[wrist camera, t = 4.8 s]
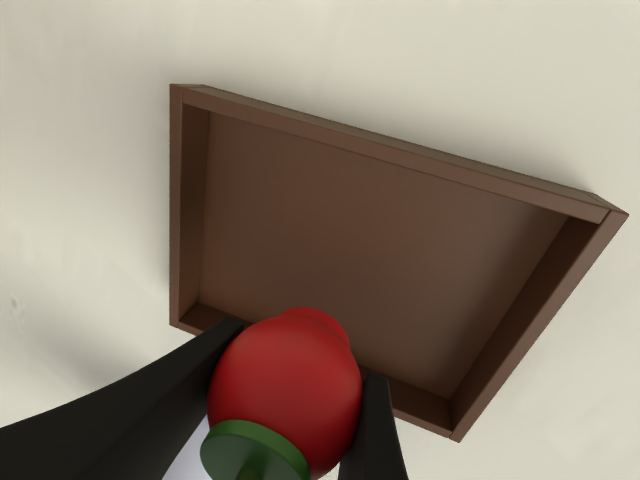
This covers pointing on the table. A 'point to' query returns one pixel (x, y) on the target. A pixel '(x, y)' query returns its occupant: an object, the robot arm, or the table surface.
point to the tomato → (283, 400)
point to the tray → (372, 246)
